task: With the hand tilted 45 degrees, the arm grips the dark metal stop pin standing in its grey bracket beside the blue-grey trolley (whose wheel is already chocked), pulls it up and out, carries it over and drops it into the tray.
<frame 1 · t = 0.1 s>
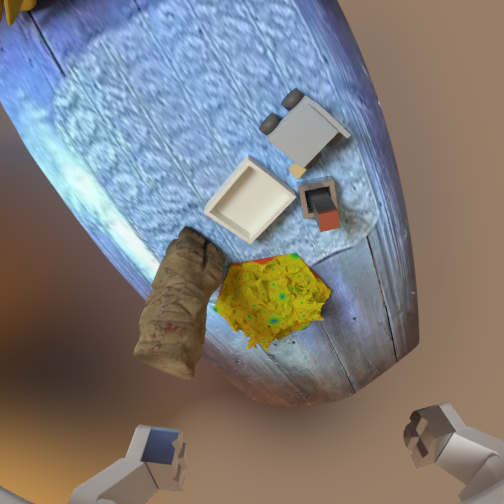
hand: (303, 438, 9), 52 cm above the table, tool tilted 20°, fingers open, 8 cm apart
trolley: (299, 126, 52), on the table
chock: (296, 166, 57), on the table
decorative piece: (271, 297, 77), on the table
sculpture: (197, 249, 67), on the table
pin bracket: (316, 194, 60), on the table
stop pin: (322, 206, 56), in the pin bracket
tray: (249, 197, 60), on the table
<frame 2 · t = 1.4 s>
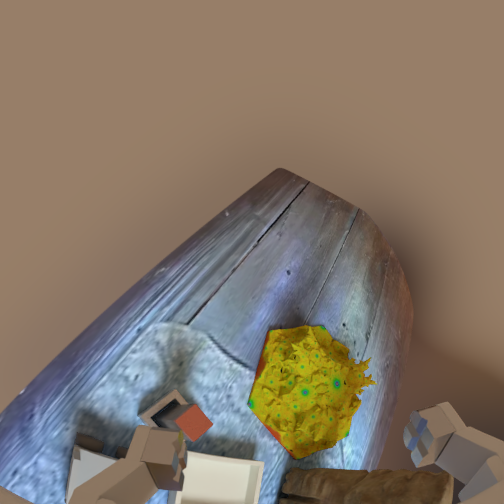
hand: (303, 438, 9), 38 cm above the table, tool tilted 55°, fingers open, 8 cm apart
trolley: (103, 476, 30), on the table
decorative piece: (308, 389, 56), on the table
sculpture: (294, 494, 42), on the table
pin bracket: (168, 420, 40), on the table
stop pin: (180, 421, 36), in the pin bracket
tray: (211, 486, 37), on the table
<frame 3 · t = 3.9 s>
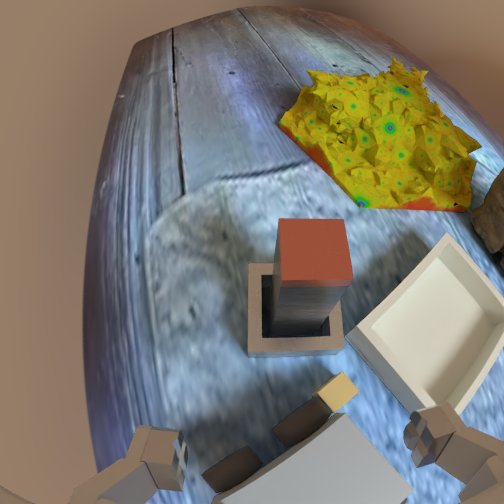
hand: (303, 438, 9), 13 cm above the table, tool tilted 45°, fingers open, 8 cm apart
trolley: (304, 486, 18), on the table
chock: (330, 394, 21), on the table
decorative piece: (386, 137, 37), on the table
sculpture: (501, 246, 28), on the table
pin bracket: (291, 315, 25), on the table
stop pin: (300, 289, 20), in the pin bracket
tray: (434, 334, 23), on the table
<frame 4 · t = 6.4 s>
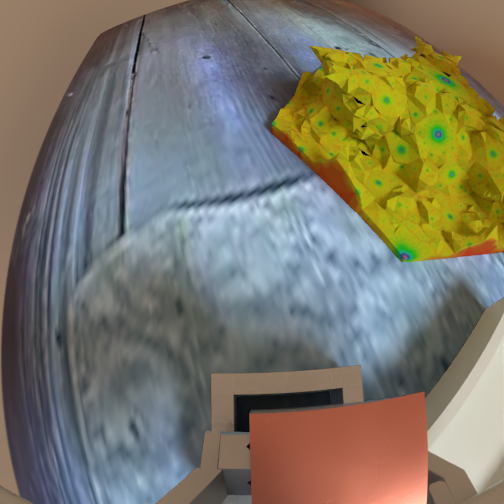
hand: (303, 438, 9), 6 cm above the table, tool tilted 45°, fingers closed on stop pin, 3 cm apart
decorative piece: (418, 143, 26), on the table
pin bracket: (285, 439, 14), on the table
stop pin: (301, 453, 9), in the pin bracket, touching gripper
tray: (482, 432, 12), on the table
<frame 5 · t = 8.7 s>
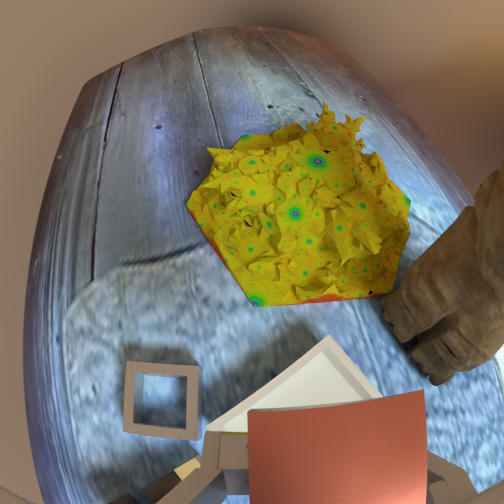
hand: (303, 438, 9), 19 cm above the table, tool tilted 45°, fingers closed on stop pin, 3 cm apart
chock: (195, 467, 23), on the table
decorative piece: (306, 206, 38), on the table
sculpture: (421, 327, 30), on the table
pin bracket: (166, 401, 26), on the table
stop pin: (301, 452, 9), point 19 cm above the table, touching gripper
tray: (304, 428, 25), on the table
when the fingers open (8 cm above the table, at t = 11.4 s): stop pin drops 1 cm, resting on tray.
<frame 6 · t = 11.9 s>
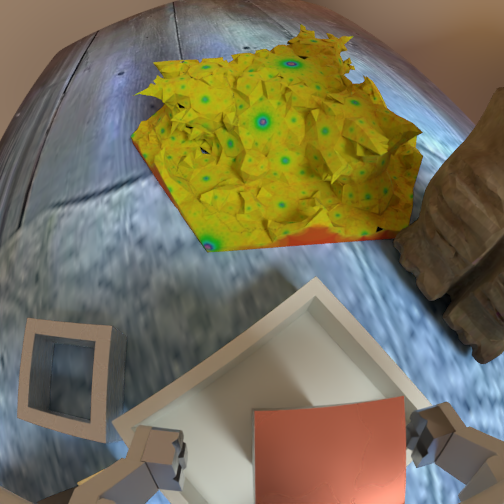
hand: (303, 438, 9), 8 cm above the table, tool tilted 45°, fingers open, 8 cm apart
decorative piece: (284, 134, 28), on the table
sculpture: (453, 282, 20), on the table
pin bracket: (78, 381, 17), on the table
stop pin: (298, 448, 10), in the tray, point 6 cm above the table
tray: (282, 435, 15), on the table
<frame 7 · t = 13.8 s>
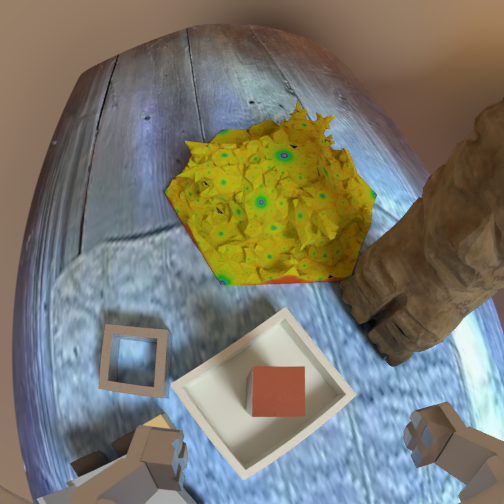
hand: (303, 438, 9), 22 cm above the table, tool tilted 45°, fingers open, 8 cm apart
trolley: (142, 488, 23), on the table
chock: (162, 426, 27), on the table
decorative piece: (276, 196, 42), on the table
sculpture: (381, 311, 34), on the table
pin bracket: (139, 363, 30), on the table
stop pin: (269, 393, 23), in the tray, point 6 cm above the table
tray: (262, 395, 29), on the table
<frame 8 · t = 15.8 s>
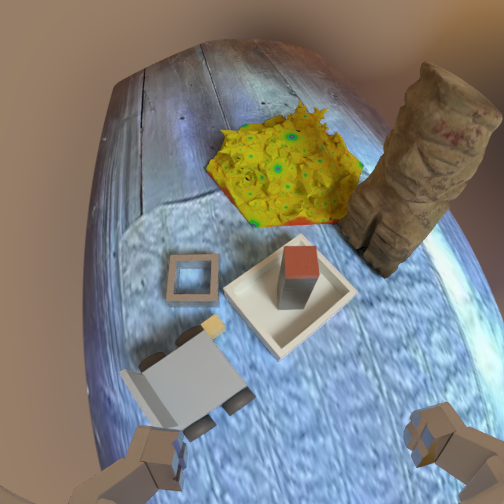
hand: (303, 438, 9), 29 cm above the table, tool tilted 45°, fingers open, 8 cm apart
trolley: (197, 385, 36), on the table
chock: (214, 329, 40), on the table
decorative piece: (288, 169, 55), on the table
sculpture: (372, 243, 47), on the table
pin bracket: (195, 284, 43), on the table
stop pin: (295, 281, 37), in the tray, point 6 cm above the table
tray: (289, 299, 42), on the table
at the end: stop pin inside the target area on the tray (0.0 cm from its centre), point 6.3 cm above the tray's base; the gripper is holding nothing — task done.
